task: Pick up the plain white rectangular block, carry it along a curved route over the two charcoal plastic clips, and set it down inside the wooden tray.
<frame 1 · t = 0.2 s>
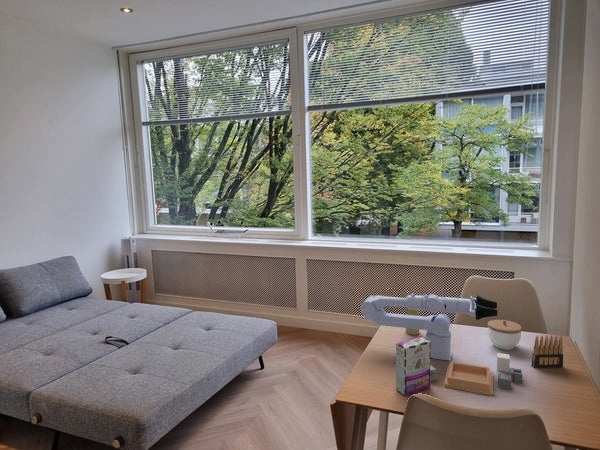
hand: (497, 309, 154), 21 cm above the table, tool horizontal, fingers open, 7 cm apart
usb wall charger: (426, 376, 148), on the table
wooden tray: (468, 380, 144), on the table
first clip: (516, 379, 145), on the table
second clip: (504, 385, 141), on the table
plain white rectangular block: (502, 368, 153), on the table
lidded bowl: (503, 346, 172), on the table
candy bar box: (412, 389, 140), on the table
vase: (412, 333, 188), on the table
ammunition clip: (547, 367, 154), on the table
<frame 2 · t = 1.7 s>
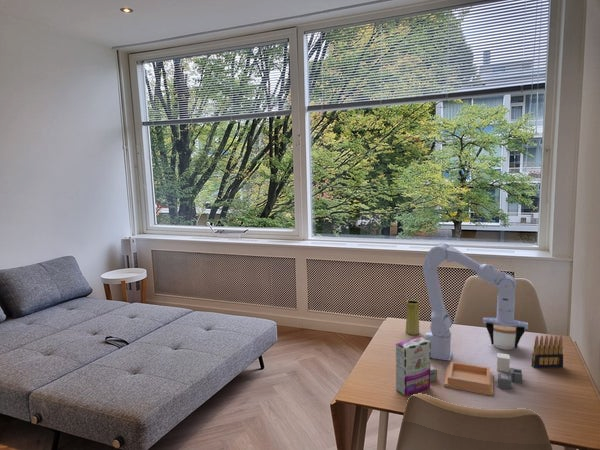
hand: (504, 345, 152), 9 cm above the table, tool pointing down, fingers open, 7 cm apart
nothing on the table moved.
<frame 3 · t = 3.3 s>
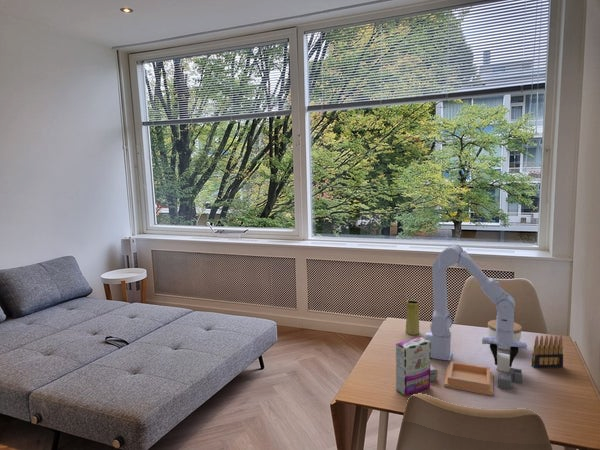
hand: (502, 365, 152), 1 cm above the table, tool pointing down, fingers closed on plain white rectangular block, 4 cm apart
plain white rectangular block: (502, 368, 153), on the table, touching gripper
everything else where it was.
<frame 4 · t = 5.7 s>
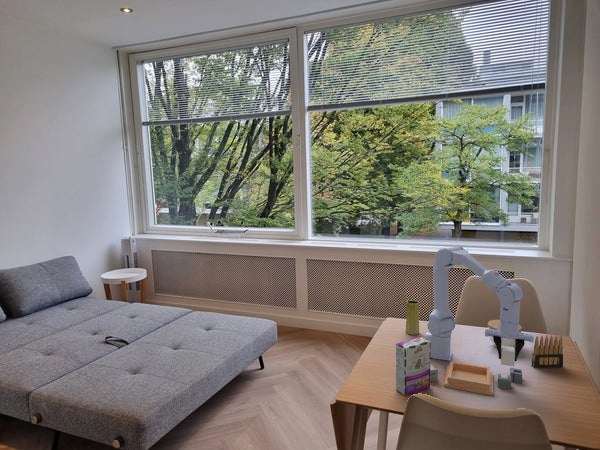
hand: (507, 359, 141), 9 cm above the table, tool pointing down, fingers closed on plain white rectangular block, 4 cm apart
plain white rectangular block: (507, 362, 141), point 7 cm above the table, touching gripper
everything else where it was.
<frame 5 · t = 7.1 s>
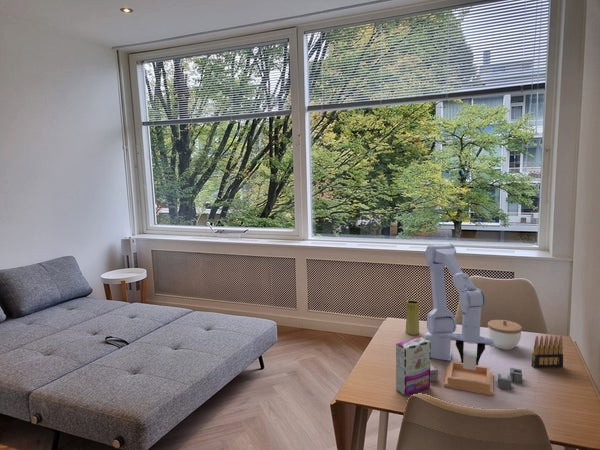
hand: (469, 362, 144), 6 cm above the table, tool pointing down, fingers closed on plain white rectangular block, 4 cm apart
plain white rectangular block: (469, 366, 144), point 5 cm above the table, touching gripper
everything else where it was.
when the fingers open (3 cm above the table, at t = 8.1 s): plain white rectangular block stays where it is, resting on wooden tray.
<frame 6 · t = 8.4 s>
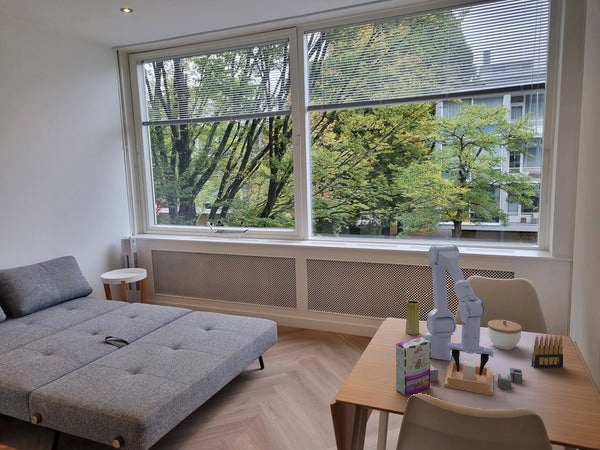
hand: (469, 372, 144), 3 cm above the table, tool pointing down, fingers open, 6 cm apart
plain white rectangular block: (468, 377, 144), point 1 cm above the table, touching wooden tray
everything else where it was.
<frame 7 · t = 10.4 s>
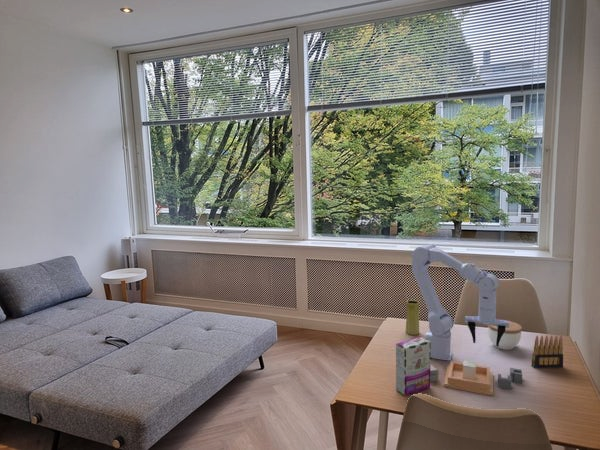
hand: (485, 343, 152), 9 cm above the table, tool pointing down, fingers open, 7 cm apart
nothing on the table moved.
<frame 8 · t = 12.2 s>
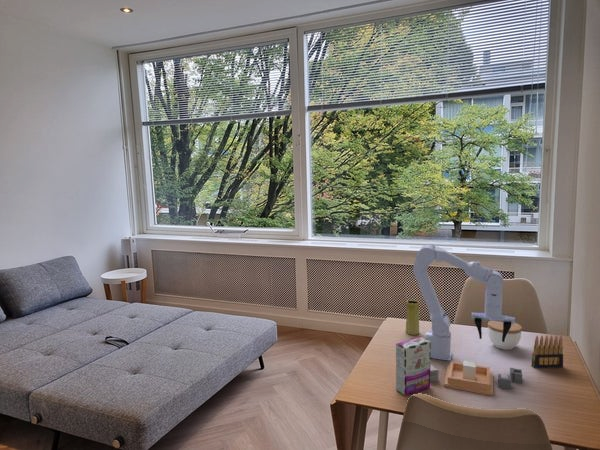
hand: (491, 339, 156), 9 cm above the table, tool pointing down, fingers open, 7 cm apart
nothing on the table moved.
at the end: plain white rectangular block inside the target area on the wooden tray (0.1 cm from its centre), point 1.0 cm above the wooden tray's base; plain white rectangular block tilted 0°; the gripper is holding nothing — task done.
